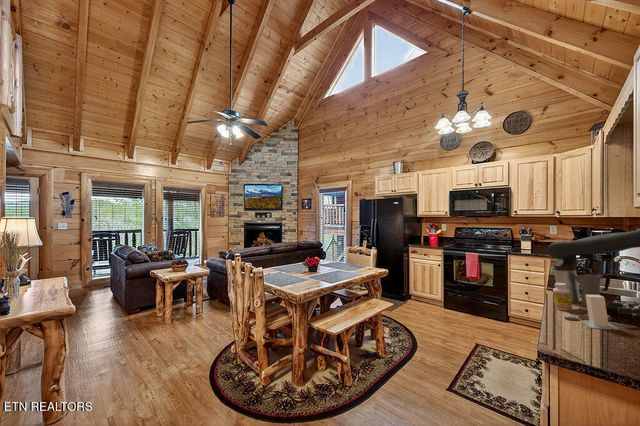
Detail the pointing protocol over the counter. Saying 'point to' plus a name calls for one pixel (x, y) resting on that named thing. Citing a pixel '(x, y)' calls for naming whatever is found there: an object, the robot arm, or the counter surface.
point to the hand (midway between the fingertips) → (612, 307)
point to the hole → (572, 318)
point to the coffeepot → (591, 284)
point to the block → (597, 310)
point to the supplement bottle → (562, 297)
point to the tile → (599, 326)
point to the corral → (583, 312)
